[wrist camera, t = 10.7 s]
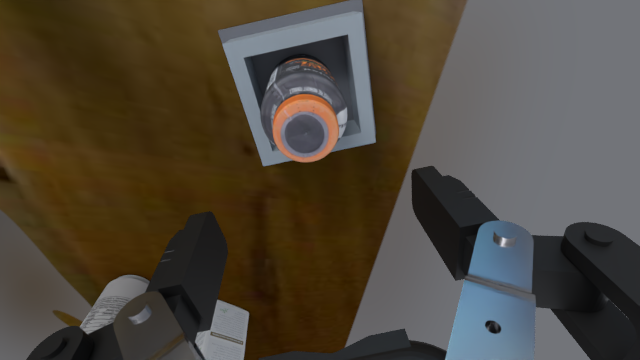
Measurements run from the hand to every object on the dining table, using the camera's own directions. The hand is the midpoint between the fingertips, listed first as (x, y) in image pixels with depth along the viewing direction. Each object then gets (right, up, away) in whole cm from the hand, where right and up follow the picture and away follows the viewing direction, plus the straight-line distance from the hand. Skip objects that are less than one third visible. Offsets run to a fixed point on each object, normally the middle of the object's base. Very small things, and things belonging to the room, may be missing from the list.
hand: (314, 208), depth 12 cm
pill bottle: (-2, +10, +15) cm, 18 cm away
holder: (-1, +10, +16) cm, 19 cm away
